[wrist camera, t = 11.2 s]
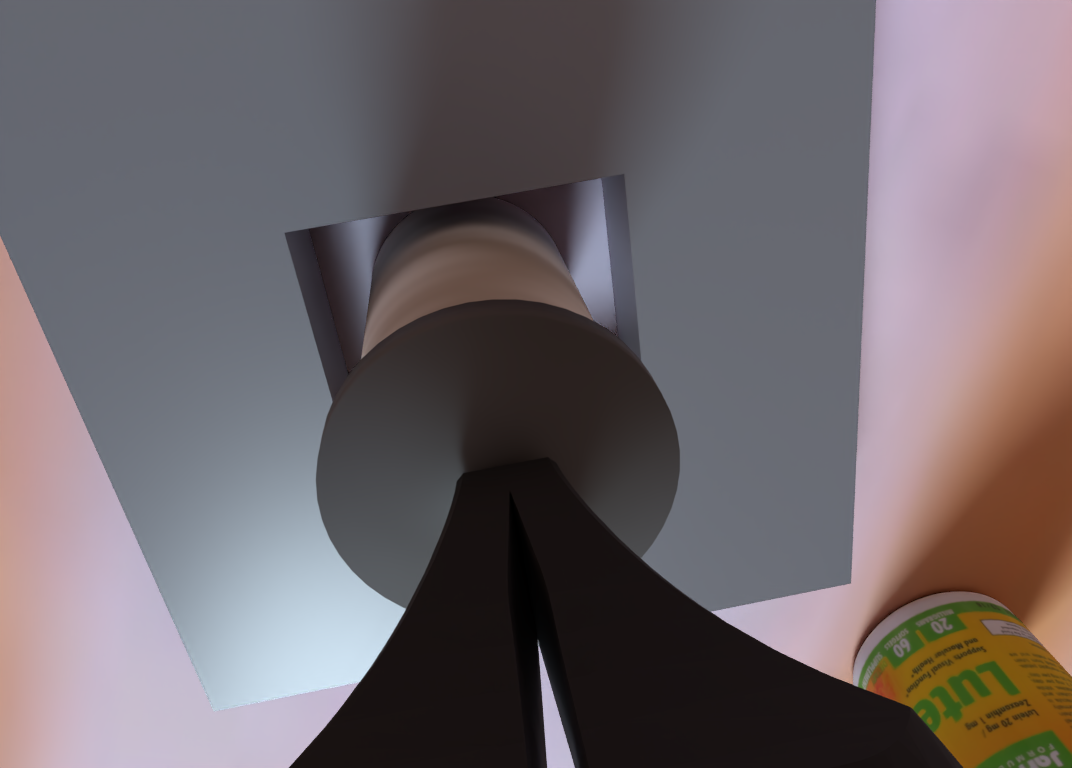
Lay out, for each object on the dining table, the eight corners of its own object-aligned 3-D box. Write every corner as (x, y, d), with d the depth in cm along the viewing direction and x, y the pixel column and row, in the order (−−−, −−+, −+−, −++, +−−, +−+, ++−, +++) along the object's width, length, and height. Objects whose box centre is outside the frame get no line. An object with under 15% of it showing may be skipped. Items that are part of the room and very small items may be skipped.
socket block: (233, 637, 23) (213, 711, 20) (-35, -16, 15) (-111, -12, 13) (809, 524, 23) (850, 583, 21) (818, -148, 16) (882, -166, 14)
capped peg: (382, 411, 20) (364, 654, 13) (327, 198, 18) (269, 355, 11) (594, 371, 20) (690, 588, 13) (568, 157, 18) (666, 282, 11)
